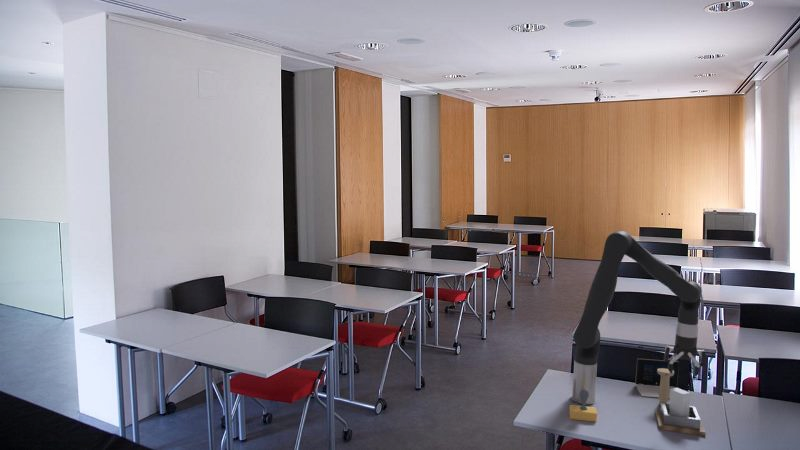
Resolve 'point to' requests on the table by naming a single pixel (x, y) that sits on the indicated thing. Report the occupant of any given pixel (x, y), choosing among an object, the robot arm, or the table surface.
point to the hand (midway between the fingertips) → (683, 374)
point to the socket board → (679, 421)
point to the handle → (664, 384)
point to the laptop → (653, 376)
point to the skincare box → (679, 402)
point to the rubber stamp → (583, 409)
